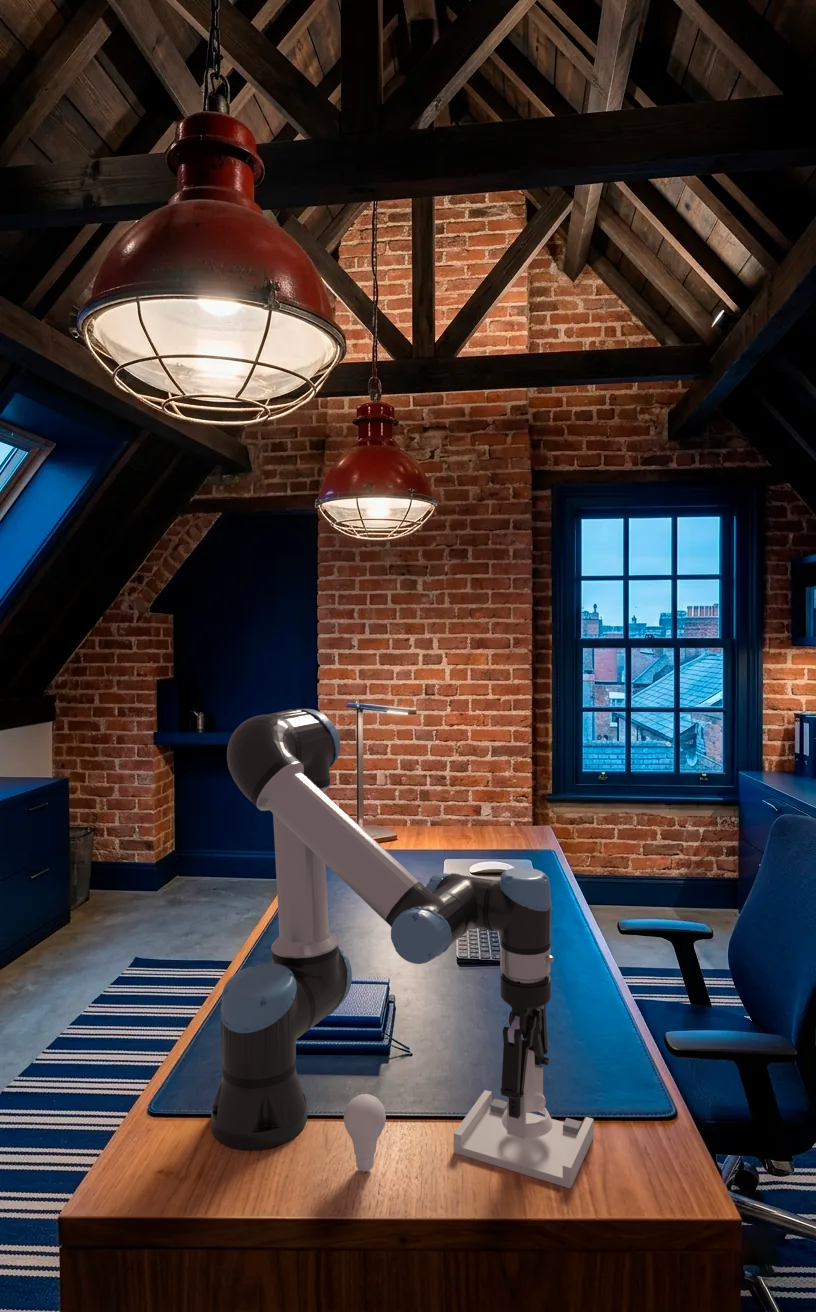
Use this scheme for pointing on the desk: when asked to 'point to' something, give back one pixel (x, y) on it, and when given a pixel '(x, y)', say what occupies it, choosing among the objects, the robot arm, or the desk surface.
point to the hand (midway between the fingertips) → (525, 1119)
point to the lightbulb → (364, 1127)
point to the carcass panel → (524, 1143)
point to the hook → (533, 1103)
